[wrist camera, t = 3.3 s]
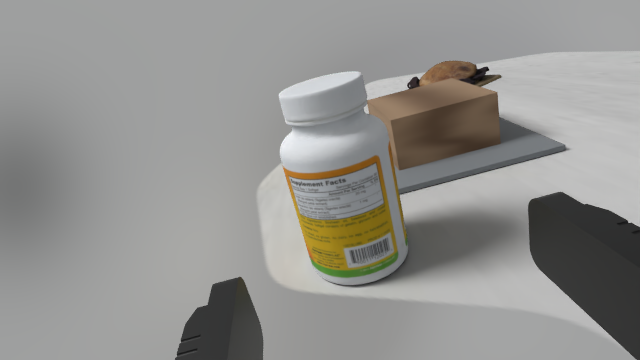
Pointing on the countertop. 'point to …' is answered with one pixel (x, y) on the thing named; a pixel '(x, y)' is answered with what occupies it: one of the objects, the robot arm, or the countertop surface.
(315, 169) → the supplement bottle
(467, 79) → the bread roll
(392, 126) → the walnut block
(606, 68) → the countertop surface
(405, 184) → the mat
